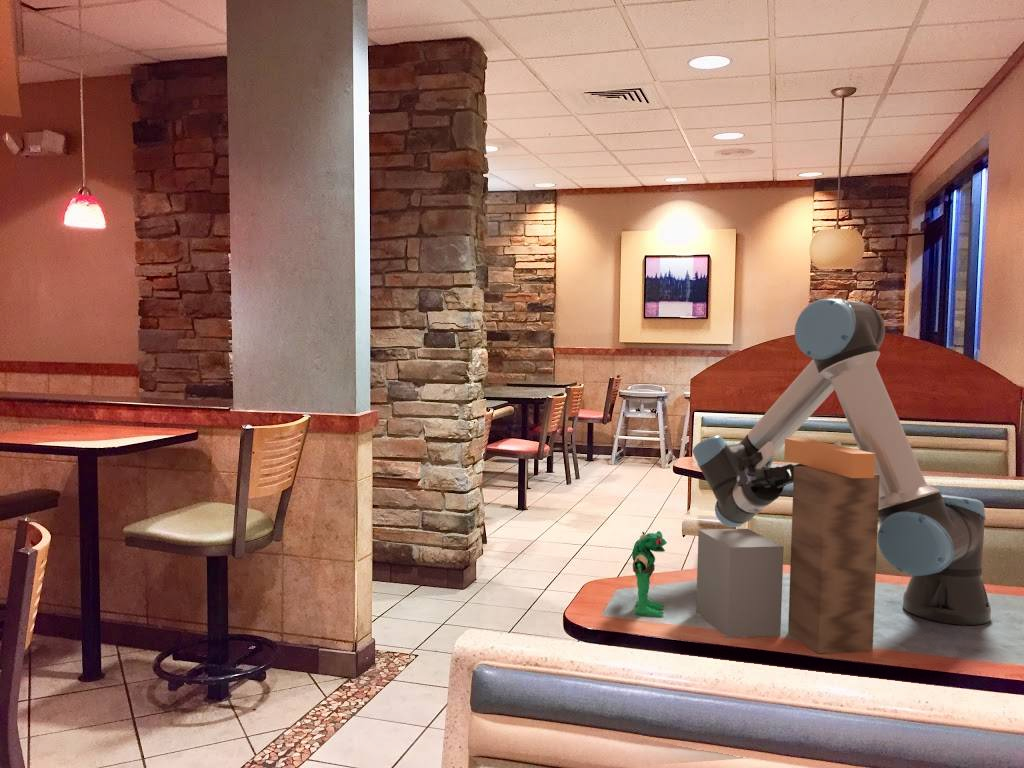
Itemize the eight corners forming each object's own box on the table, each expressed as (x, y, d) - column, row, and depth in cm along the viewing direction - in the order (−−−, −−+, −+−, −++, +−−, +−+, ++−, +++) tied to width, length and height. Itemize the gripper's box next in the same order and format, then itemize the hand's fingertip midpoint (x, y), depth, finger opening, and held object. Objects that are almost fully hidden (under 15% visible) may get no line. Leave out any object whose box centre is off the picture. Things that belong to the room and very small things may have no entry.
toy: (663, 634, 145) (665, 550, 144) (626, 631, 146) (628, 548, 145) (665, 592, 170) (667, 520, 169) (634, 590, 171) (636, 518, 171)
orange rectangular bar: (803, 459, 156) (804, 438, 155) (874, 477, 134) (875, 453, 134) (784, 459, 155) (785, 438, 155) (851, 478, 133) (852, 453, 133)
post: (839, 630, 149) (845, 466, 147) (872, 651, 139) (879, 474, 137) (788, 633, 147) (793, 466, 145) (818, 653, 137) (824, 475, 136)
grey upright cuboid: (744, 610, 159) (747, 528, 159) (780, 635, 146) (783, 546, 145) (696, 612, 158) (698, 529, 157) (727, 637, 144) (730, 547, 143)
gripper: (818, 505, 169) (873, 466, 151) (704, 507, 165) (746, 468, 146) (809, 471, 173) (863, 429, 154) (697, 472, 168) (738, 429, 150)
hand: (806, 448), depth 150 cm, fingers open, 13 cm apart
